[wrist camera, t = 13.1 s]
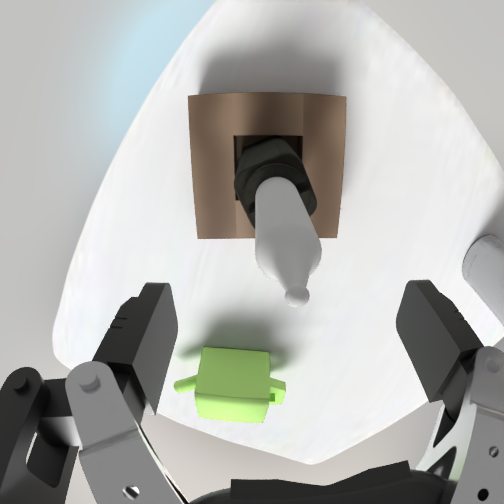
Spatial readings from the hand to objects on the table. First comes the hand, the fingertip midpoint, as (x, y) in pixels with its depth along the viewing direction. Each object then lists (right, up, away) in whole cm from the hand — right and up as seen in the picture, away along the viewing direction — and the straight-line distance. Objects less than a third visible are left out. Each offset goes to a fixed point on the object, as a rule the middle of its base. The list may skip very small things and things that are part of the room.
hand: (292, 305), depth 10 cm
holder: (0, +12, +23) cm, 26 cm away
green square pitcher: (-5, -18, +40) cm, 44 cm away
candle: (0, +12, +23) cm, 26 cm away
